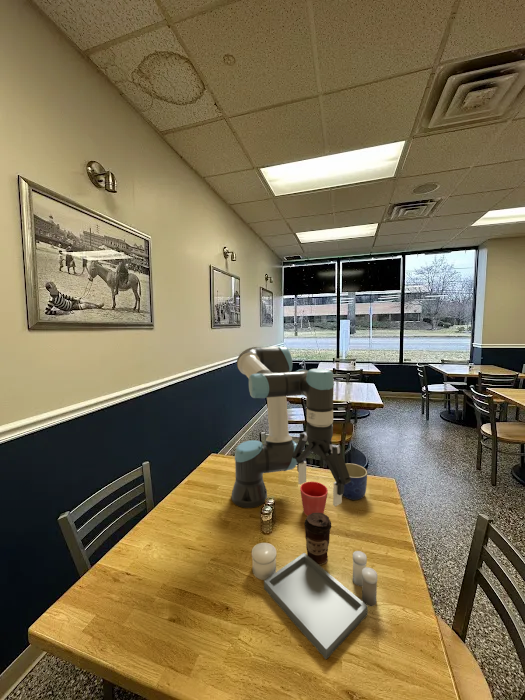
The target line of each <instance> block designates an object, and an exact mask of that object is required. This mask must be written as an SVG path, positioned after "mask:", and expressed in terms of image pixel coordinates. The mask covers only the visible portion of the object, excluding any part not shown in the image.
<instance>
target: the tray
mask: <svg viewBox="0 0 525 700" xmlns="http://www.w3.org/2000/svg"><path fill="white" fill-rule="evenodd" d="M263 590H265V592H266V593H267V594H268V595H269V596H270V598H271V599H273V601H274V602H275V603H276V604H277V606H278V607H279V608H280V609H281V610H282V611H283V613H285V614H286V616H287V617H288V618H289V619H290V620H291V622H292V623H293V624H294V625H295V626H296V627H297V628H298V630H300V632H301V633H302V634H303V636H304V637H306V639H307V640H308V641H309V642H310V643H311V644H312V646H313V647H314V646H315V647H316V648H315V649H316V651H318V652H319V654H320V655H321V654H322V655H323V656H322V655H321V656H322V657H323V658H324V659H325V660H326V659H328V658H329V657H330V656H331V655H332V654H333V653H334V652H335V651H336V650H337V649H338V648H339V646H340V645H341V644H342V643H343V642H344V641H345V640H346V639H347V638H348V637H349V635H350V634H351V633H352V632H353V631H354V630H355V629H356V628H357V627H358V626H359V624H361V622H362V621H363V620H364V619H365V618H366V617H367V616H368V607H369V606H368V605H366V604H365V603H364V602H363V600H362V599H360V598H359V597H358V596H357V595H355V594H354V593H353V592H352V591H351V590H349V589H348V588H347V587H346V586H344V585H343V583H341V582H340V581H339V580H338V579H336V578H335V577H334V576H333V575H331V574H330V572H328V571H327V570H326V569H324V567H322V566H321V564H320V565H319V564H317V563H316V562H315V561H314V560H312V559H311V558H310V557H309V556H308V555H307V553H305V552H303V553H301V554H300V555H299V556H298V557H296V558H294V559H293V560H292V561H290V562H289V563H287V564H286V565H284V566H283V567H282V568H280V569H278V570H276V573H274V574H273V575H271V576H270V577H268V578H267V579H266V580H263Z"/></svg>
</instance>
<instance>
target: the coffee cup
mask: <svg viewBox="0 0 525 700" xmlns="http://www.w3.org/2000/svg"><path fill="white" fill-rule="evenodd" d="M303 523H304V529H305V530H304V534H305V546H306V555H308V556H309V557H310V558H311V559H312V560H314V561H315V562H316V563H317V564H318V565H320V566H321V565H324V564H326V563H327V562H328V560H329V556H328V552H329V545H330V540H331V539H330V536H331V535H330V531H331V529H332V521H331V520H330V517H329V515H326V514H325V513H324V514H323V513H319V512H317V513H312V514H310V515H308V516H307V515H306V518H305V520H304V522H303Z"/></svg>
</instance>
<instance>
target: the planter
mask: <svg viewBox="0 0 525 700" xmlns="http://www.w3.org/2000/svg"><path fill="white" fill-rule="evenodd" d="M345 464H346V467H347V470H348V473H349V476H350V479H351V482H349V483H347V484H345V485H344V493H343V494H342V497H344V498H346V499H349V500H354V501H355V500H361V499H362V498H363V497H365V495H366V491H367V481H368V471H367V469H366V468H365V467H363V466H362V465H360V464H356V463H348V462H347V463H346V462H345ZM339 478H340V477H339Z"/></svg>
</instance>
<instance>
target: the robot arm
mask: <svg viewBox="0 0 525 700" xmlns="http://www.w3.org/2000/svg"><path fill="white" fill-rule="evenodd" d="M236 366H237V369H238V370H239V372H240V373H241V374H242V375H244V376H246V378H248V392H249V395H250V396H251V398H253V399H266V400H267V401H266V402H267V420H268V423H267V424H268V436H267V437H266V438H265V444H263V442H261V441H260V440H255V439H254V440H252V439H251V440H246V441H243V442H241V443H239V444H238V445H237V446H236V448H235V453H234V462H235V464H234V465H235V473H234V474H235V481H234V485H233V488H232V491H231V501H232V503H233V504H234V505H236V506H237V507H240V508H247V509H248V508H249V509H252V508H257V507H259V506H261V505H263V504H264V503H265V502H266V501H265V499H266V498H267V499H268V490H267V487H266V485H265V482H264V477H263V476H264V474H270V473H277V472H287V471H290V470H293V469H295V468H296V467H297V470H296V471H297V472H298V477H297V478H298V480H297V481H298V483H297V484H298V485H300V486H301V485H302V484H304V483H306V482H307V461H306V459H307V458H308V457H309V456H310V454H311V455H312V453H313V454H315V455H318V456H319V457H322V460H323V461H325V463H326V465H327V467H328V468H329V471H330V473H331V475H332V477H333V479H334V480H335V481H333V488H332V489H333V491H332V493H333V499H332V500H333V501H332V505H333V506H334V507H337V506H339V505H341V504H342V503H343V500H342V499H343V498H342V497H343V495H342V494H343V493H344V485H345V484H347V483H349V482H351V479H350V476H349V473H348V470H347V467H346V461H345V459H344V456H343V454H342V452H343V450H342V446H341V445H340V444H338V445H336V444H333V443H332V439H333V436H334V435H333V434H334V430H333V429H334V424H333V423H334V391H335V390H334V387H335V381H334V372H333V371H332V370H330V369H326V368H311V369H309V370H308V369H298V370H295V371H292V370H293V358H292V354H291V352H290V350H289V349H288V347H286V346H280V345H279V346H278V345H273V346H253V347H249V348H246V349H245V350H243V351H241V353H240V354H239V355H238V357H237V359H236ZM295 396H304V397H306V421H307V422H306V428H305V429H306V431H303V432H301V433H299V437H298V438H299V439H298V442H295V441H294V440H293V437H292V436H291V435H290V434H289V418H288V402H287V397H295ZM307 442H308V445H307ZM306 445H307V447H305V446H306ZM339 477H340V478H339ZM267 499H266V500H267ZM264 501H265V502H264Z"/></svg>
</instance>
